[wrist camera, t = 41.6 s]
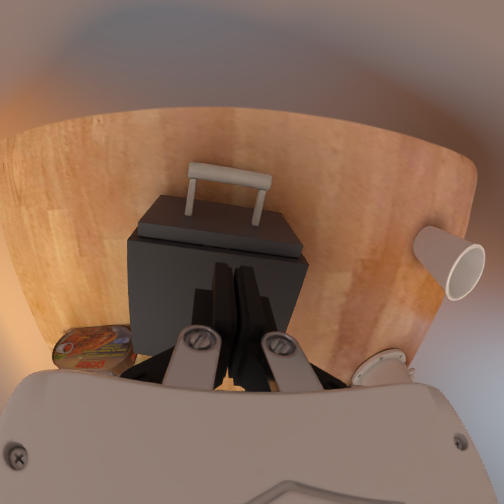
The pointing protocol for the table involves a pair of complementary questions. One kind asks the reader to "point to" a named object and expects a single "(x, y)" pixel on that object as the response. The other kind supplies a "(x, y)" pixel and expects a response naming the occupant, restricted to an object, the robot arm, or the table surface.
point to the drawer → (221, 217)
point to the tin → (96, 349)
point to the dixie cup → (450, 260)
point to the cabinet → (195, 286)
